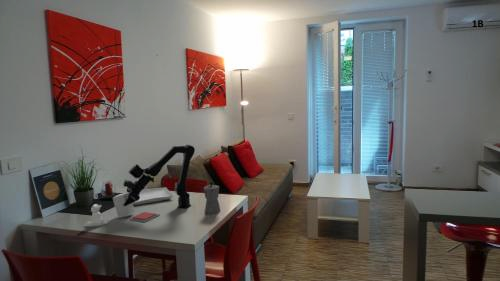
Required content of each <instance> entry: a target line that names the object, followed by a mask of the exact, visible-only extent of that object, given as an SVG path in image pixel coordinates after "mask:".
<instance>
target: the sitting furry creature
mask: <svg viewBox="0 0 500 281" xmlns="http://www.w3.org/2000/svg"><path fill="white" fill-rule="evenodd" d="M101 208H102V204H97V203H95V204H93V205H92V207H91V208H90V212H92V214H91V221H87V222H85V223H84V226H85V227H86V228H87V227H88V228H92V227H95V228H96V227H101V226H102V225H103V224H104V222H105V221H104V219H103V217H102V213H101V212H100V210H101Z"/></svg>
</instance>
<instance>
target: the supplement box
mask: <svg viewBox="0 0 500 281" xmlns="http://www.w3.org/2000/svg"><path fill="white" fill-rule="evenodd" d="M128 194H129V192H127V191H126V192H123V193H120V194H117V195H115V196H114V197H112V201H113V204H114V208H115V210H116V214H117V218H120V219H121V218H125V217H129V216H131V215H133V213H134V212H136V211H135V207H134V204H132V203H131V204H129V205H126V206H123V205H124V203H125V202H126V200H127V199H128Z"/></svg>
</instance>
